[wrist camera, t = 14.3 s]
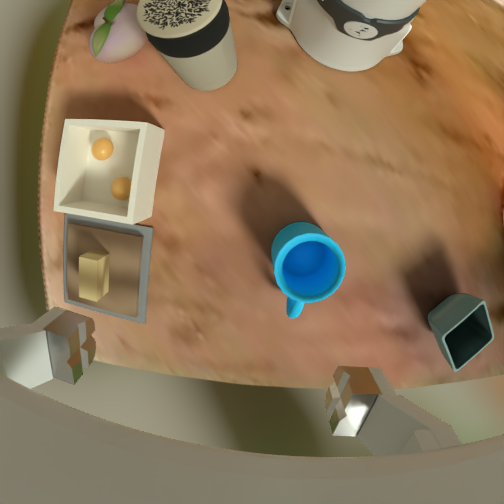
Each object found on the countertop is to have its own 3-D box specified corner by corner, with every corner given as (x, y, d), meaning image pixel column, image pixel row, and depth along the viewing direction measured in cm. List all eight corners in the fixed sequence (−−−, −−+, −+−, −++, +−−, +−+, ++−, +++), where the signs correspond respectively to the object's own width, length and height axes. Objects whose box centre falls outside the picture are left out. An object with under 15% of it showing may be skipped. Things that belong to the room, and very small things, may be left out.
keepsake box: (90, 124, 38) (65, 118, 32) (165, 130, 39) (147, 122, 32) (79, 204, 41) (53, 210, 34) (151, 216, 42) (132, 224, 35)
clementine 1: (99, 137, 38) (89, 135, 35) (119, 139, 38) (109, 137, 35) (96, 159, 39) (85, 159, 36) (115, 161, 39) (105, 161, 36)
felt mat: (66, 212, 42) (65, 212, 41) (153, 227, 42) (152, 228, 42) (65, 301, 45) (64, 302, 45) (145, 323, 46) (145, 324, 45)
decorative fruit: (154, 70, 37) (127, 46, 27) (103, 73, 36) (69, 54, 27) (165, 16, 34) (144, -17, 25) (116, 21, 34) (87, -6, 24)
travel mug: (237, 90, 37) (223, 34, 20) (178, 93, 37) (128, 45, 20) (238, 39, 35) (226, -34, 18) (181, 43, 36) (139, -23, 18)
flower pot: (454, 279, 43) (485, 299, 35) (467, 316, 45) (495, 338, 36) (414, 311, 45) (441, 337, 36) (430, 346, 46) (454, 373, 38)
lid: (71, 222, 42) (53, 228, 37) (143, 235, 42) (130, 243, 37) (70, 296, 45) (55, 308, 40) (137, 314, 45) (126, 329, 40)
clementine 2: (118, 175, 40) (108, 175, 37) (138, 177, 40) (129, 178, 37) (115, 197, 40) (105, 199, 37) (135, 200, 40) (126, 203, 37)
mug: (277, 216, 41) (282, 226, 34) (336, 228, 42) (353, 241, 34) (259, 299, 44) (260, 325, 36) (314, 308, 45) (325, 335, 37)
